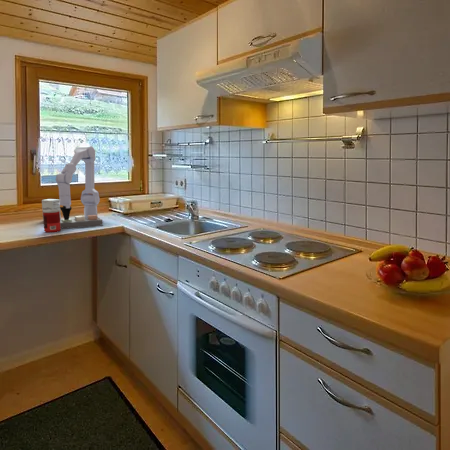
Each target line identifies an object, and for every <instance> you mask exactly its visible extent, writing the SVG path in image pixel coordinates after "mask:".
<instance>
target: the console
mask: <svg viewBox="0 0 450 450" xmlns="http://www.w3.org/2000/svg"><path fill="white" fill-rule="evenodd" d="M70 219H71V220H72V221H70V222H62V219H61V220H60V225H61V229H62V230H64V229H75V228H84V227H85V228H86V227H97V226H98V227H99V226H103V224H104V223H103V222H104V220H103V219H101V218H100V217H97V219H95V220H88V218H85V220H82V221H75V218H70Z"/></svg>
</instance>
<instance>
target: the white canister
mask: <svg viewBox="0 0 450 450" xmlns="http://www.w3.org/2000/svg"><path fill="white" fill-rule="evenodd" d="M58 203H60V198H59V199H58V198H57V199H56V198H47V199H42V200H41V209H42V212H43V211H44V210H53V209H56V210H59V211H60V212H61V209H60V207H61V205H58ZM42 220H43V219H42ZM60 220H62V218H61V213H60ZM43 222H44V220H43Z"/></svg>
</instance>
